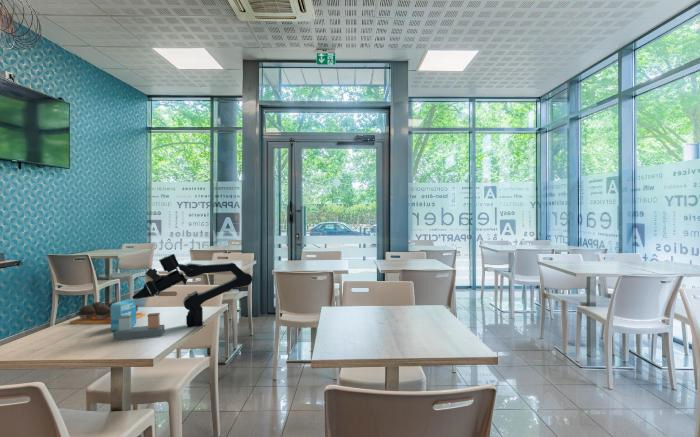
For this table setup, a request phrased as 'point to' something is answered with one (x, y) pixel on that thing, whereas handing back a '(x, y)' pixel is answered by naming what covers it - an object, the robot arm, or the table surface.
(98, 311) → the chocolates on board
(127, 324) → the grey plug
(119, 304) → the data package
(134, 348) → the table surface
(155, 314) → the brown rectangular block
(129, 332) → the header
